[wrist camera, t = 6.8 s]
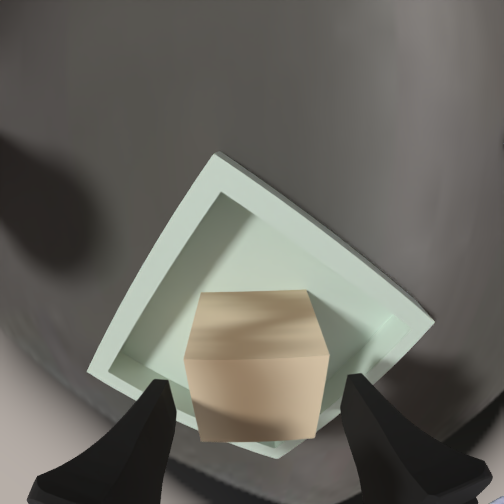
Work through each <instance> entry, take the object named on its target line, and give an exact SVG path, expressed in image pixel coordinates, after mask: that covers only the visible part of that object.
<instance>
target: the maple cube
mask: <svg viewBox="0 0 504 504" xmlns="http://www.w3.org/2000/svg"><path fill="white" fill-rule="evenodd" d="M329 356H330V354H329V351H328V349H327V346H326V343H325V340H324V337H323V334H322V332H321V329H320V326H319V323H318V321H317V318H316V315H315V312H314V310H313V307H312V304H311V301H310V299H309V296H308V293H307V290H306V289H304V290H278V291H244V292H201V294H200V298H199V301H198V305H197V309H196V312H195V316H194V320H193V324H192V328H191V331H190V335H189V339H188V343H187V347H186V351H185V355H184V359H183V360H184V365H185V370H186V375H187V380H188V385H189V390H190V395H191V399H192V404H193V409H194V413H195V417H196V422H197V426H198V430H199V434H200V438H201V442H268V441H285V440H298V439H309V438H315V434H316V429H317V424H318V419H319V414H320V409H321V404H322V398H323V393H324V387H325V381H326V375H327V369H328V363H329Z"/></svg>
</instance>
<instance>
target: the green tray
mask: <svg viewBox="0 0 504 504" xmlns="http://www.w3.org/2000/svg"><path fill="white" fill-rule="evenodd" d="M304 289H306V290H307V293H308V296H309V299H310V301H311V304H312V307H313V310H314V312H315V315H316V318H317V321H318V323H319V326H320V329H321V332H322V334H323V337H324V340H325V343H326V346H327V349H328V351H329V354H330V356H329V363H328V369H327V375H326V381H325V387H324V393H323V398H322V404H321V409H320V414H319V419H318V424H317V429H316V432H317V431H318V430H319V429H321V428H322V427H323V426H325V425H326V424H327V423H329V422H330V421H331V420H332V419H334V418H335V417H336V416H337V415H339V414H340V413H341V410H340V405H341V401H342V397H343V392H344V388H345V384H346V379H347V375H349V374H357V373H362V374H363V375H364V376H365V377H366V378H367V379H368V380H369V382H370V383H371V384H372V385H374V384H375V383H376V382H377V381H378V380H379V379H380V378H381V377H382V376H383V375H384V374H385V373H387V372H388V371H389V370H390V369H391V368H392V367H393V366H394V365H395V364H396V363H397V362H398V361H399V360H400V359H401V358H402V357H403V356H404V355H405V354H406V353H407V352H408V351H409V350H410V349H411V348H412V347H413V346H414V345H415V343H416V342H417V341H418V340H419V339H420V338H421V337H422V336H423V335H424V334H425V333H426V332H427V331H428V329H429V328H430V327H431V326H432V325H433V324H434V323H435V321H434V320H433V319H432V318H431V317H430V316H429V315H428V313H427V312H426V311H425V310H424V309H423V308H422V307H421V306H420V304H419V303H418V302H417V301H416V300H415V299H414V298H413V297H412V296H410V295H409V294H408V293H407V292H406V291H405V290H403V289H402V288H401V287H400V286H399V285H398V284H396V283H395V282H394V281H393V280H392V279H390V278H389V277H388V276H387V275H386V274H384V273H383V272H382V271H381V270H379V269H378V268H377V267H376V266H375V265H373V264H372V263H371V262H370V261H368V260H367V259H366V258H365V257H363V256H362V255H361V254H360V253H358V252H357V251H356V250H355V249H353V248H352V247H351V246H350V245H348V244H347V243H346V242H345V241H343V240H342V239H341V238H339V237H338V236H337V235H336V234H334V233H333V232H332V231H330V230H329V229H328V228H326V227H325V226H324V225H323V224H321V223H320V222H319V221H317V220H316V219H315V218H313V217H312V216H311V215H309V214H308V213H307V212H305V211H304V210H303V209H301V208H300V207H299V206H297V205H296V204H294V203H293V202H292V201H290V200H289V199H288V198H286V197H285V196H284V195H282V194H281V193H279V192H278V191H277V190H275V189H274V188H272V187H271V186H270V185H268V184H267V183H265V182H264V181H263V180H261V179H260V178H258V177H257V176H256V175H254V174H253V173H251V172H250V171H248V170H247V169H245V168H244V167H243V166H241V165H240V164H238V163H237V162H235V161H234V160H232V159H231V158H229V157H228V156H226V155H225V154H224V153H222V152H221V151H218V152H216V153H214V154H213V156H212V157H211V159H210V160H209V161H208V163H207V164H206V166H205V167H204V169H203V170H202V172H201V173H200V175H199V176H198V178H197V179H196V181H195V182H194V184H193V185H192V187H191V188H190V190H189V191H188V193H187V194H186V196H185V197H184V199H183V200H182V202H181V203H180V205H179V207H178V208H177V210H176V211H175V213H174V214H173V216H172V218H171V219H170V221H169V222H168V224H167V226H166V227H165V229H164V230H163V232H162V234H161V235H160V237H159V239H158V240H157V242H156V244H155V245H154V247H153V249H152V250H151V252H150V254H149V255H148V257H147V259H146V261H145V262H144V264H143V266H142V267H141V269H140V271H139V273H138V274H137V276H136V278H135V280H134V281H133V283H132V285H131V287H130V289H129V290H128V292H127V294H126V296H125V298H124V299H123V301H122V303H121V305H120V307H119V309H118V311H117V312H116V314H115V316H114V318H113V320H112V322H111V324H110V326H109V328H108V330H107V332H106V334H105V335H104V337H103V339H102V341H101V343H100V345H99V347H98V349H97V351H96V353H95V356H94V358H93V360H92V362H91V364H90V366H89V368H88V370H87V372H88V373H90V374H91V375H93V376H94V377H96V378H98V379H99V380H101V381H103V382H104V383H106V384H108V385H109V386H111V387H113V388H114V389H116V390H118V391H120V392H121V393H123V394H125V395H127V396H129V397H130V398H132V399H134V400H136V401H137V400H138V398H139V397H140V396H141V395H142V393H143V392H144V391H145V389H146V388H147V387H148V386H149V384H150V383H151V382H152V380H154V379H164V380H169V384H170V388H171V392H172V396H173V399H174V403H175V407H176V410H177V416H176V421H178V422H180V423H183V424H185V425H187V426H189V427H192V428H194V429H196V430H198V426H197V422H196V417H195V413H194V409H193V404H192V399H191V395H190V390H189V385H188V380H187V375H186V370H185V365H184V360H183V359H184V355H185V351H186V347H187V343H188V339H189V335H190V331H191V328H192V324H193V320H194V316H195V312H196V309H197V305H198V301H199V298H200V294H201V292H244V291H278V290H304ZM198 431H199V430H198ZM305 440H306V439H298V440H285V441H268V442H228V443H231V444H234V445H236V446H239V447H242V448H245V449H248V450H251V451H253V452H256V453H260V454H263V455H266V456H269V457H272V458H275V459H278V458H280V457H281V456H283V455H284V454H286V453H287V452H289V451H290V450H292V449H293V448H295V447H296V446H297V445H299V444H300V443H302V442H303V441H305Z"/></svg>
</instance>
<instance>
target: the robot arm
mask: <svg viewBox="0 0 504 504" xmlns="http://www.w3.org/2000/svg"><path fill="white" fill-rule="evenodd" d="M340 410H341V416H342V421H343V426H344V430H345V433H346V436H347V440H348V443H349V446H350V449H351V452H352V455H353V458H354V461H355V464H356V467H357V471H358V475H359V479H360V485H361V490H362V495H363V503H364V504H478V500H477V498H476V496H477V495H479V494H480V493H481V492H482V491H483V490H484V489H485V488H486V487H487V486H488V485H489V484H490V482H491V481H492V478H493V476H492V474H491V472H490V470H489V468H488V466H487V465H486V463H485V461H483V460H480V459H477V458H474V457H471V456H469V455H465V454H463V453H461V452H459V451H456V450H454V449H452V448H450V447H448V446H446V445H444V444H442V443H441V442H439V441H437V440H436V439H434V438H432V437H431V436H429V435H427V434H426V433H425V432H423V431H422V430H420V429H419V428H418V427H416V426H415V425H414V424H412V423H411V422H410V421H409V420H408V419H406V418H405V417H404V416H403V415H402V414H401V413H400V412H399V411H397V410H396V409H395V408H394V407H393V406H392V405H391V404H390V403H389V402H388V401H387V400H386V399H385V398H384V397H383V396H382V395H381V394H380V392H379V391H378V390H377V389H376V388H375V387H374V386H373V385H372V384H371V383H370V382H369V380H368V379H367V378H366V377H365V376H364V375H363V374H362V373H357V374H349V375H347V379H346V384H345V388H344V392H343V397H342V401H341V405H340ZM176 416H177V410H176V407H175V403H174V399H173V396H172V392H171V388H170V384H169V380H164V379H154V380H152V382H151V383H150V384H149V386H148V387H147V388H146V389H145V391H144V392H143V393H142V395H141V396H140V397H139V398H138V400H137V401H136V402H135V403H134V405H133V406H132V407H131V408H130V409H129V410H128V412H127V413H126V414H125V415H124V416H123V417H122V418H121V419H120V420H119V421H118V422H117V423H116V425H115V426H114V427H113V428H112V429H111V430H110V431H109V432H107V434H105V435H104V436H103V437H102V438H101V439H100V440H99V441H97V442H96V443H95V444H94V445H92V446H91V447H90V448H88V449H87V450H86V451H84V452H83V453H81V454H80V455H78V456H77V457H75V458H73V459H72V460H70V461H68V462H67V463H65V464H63V465H62V466H59V467H57V468H56V469H53V470H51V471H48V472H46V473H44V474H41V475H39V476H37V478H36V480H35V482H34V484H33V486H32V488H31V491H30V493H29V495H28V498H27V502H28V503H29V504H160V500H161V491H162V483H163V477H164V473H165V469H166V465H167V461H168V457H169V453H170V449H171V445H172V441H173V437H174V433H175V425H176ZM489 504H504V496H501V497H500V498H498V499H496V500H494V501H492V502H491V503H489Z"/></svg>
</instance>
